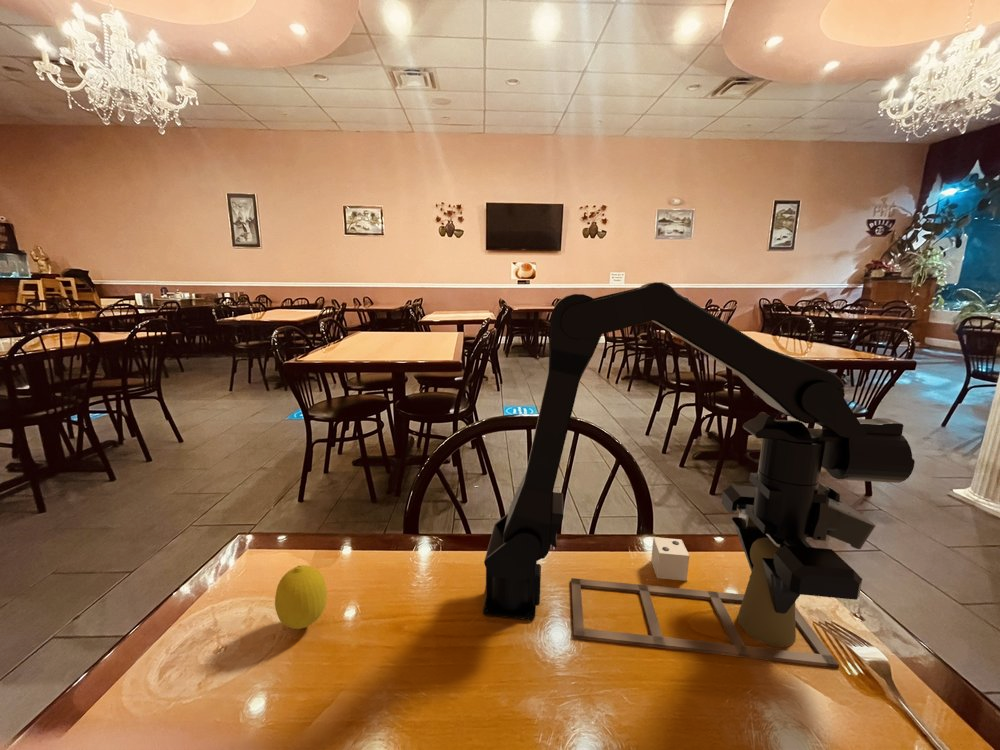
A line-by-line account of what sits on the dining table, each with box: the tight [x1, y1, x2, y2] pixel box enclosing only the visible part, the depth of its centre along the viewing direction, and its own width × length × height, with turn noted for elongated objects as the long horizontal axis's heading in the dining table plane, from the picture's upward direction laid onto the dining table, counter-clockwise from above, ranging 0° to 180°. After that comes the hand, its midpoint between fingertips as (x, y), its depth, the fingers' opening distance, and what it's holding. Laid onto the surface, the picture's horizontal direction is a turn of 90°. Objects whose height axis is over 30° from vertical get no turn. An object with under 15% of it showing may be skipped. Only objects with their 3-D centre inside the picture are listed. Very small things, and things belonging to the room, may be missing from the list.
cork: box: [736, 537, 797, 648], centre depth 51 cm, size 6×6×11 cm
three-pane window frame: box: [570, 577, 840, 669], centre depth 53 cm, size 28×10×1 cm, turn 82°
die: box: [650, 536, 690, 582], centre depth 62 cm, size 4×4×4 cm
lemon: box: [274, 564, 328, 630], centre depth 50 cm, size 6×6×8 cm
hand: (769, 597), depth 51 cm, fingers open, 5 cm apart
